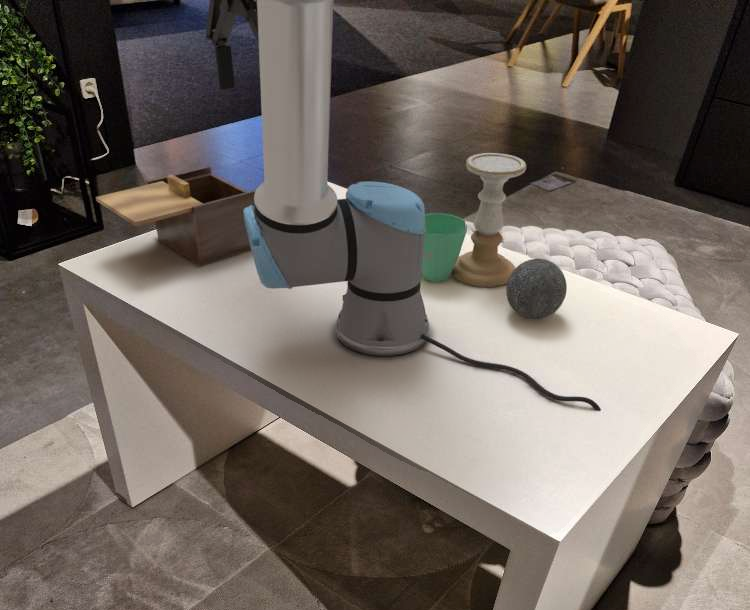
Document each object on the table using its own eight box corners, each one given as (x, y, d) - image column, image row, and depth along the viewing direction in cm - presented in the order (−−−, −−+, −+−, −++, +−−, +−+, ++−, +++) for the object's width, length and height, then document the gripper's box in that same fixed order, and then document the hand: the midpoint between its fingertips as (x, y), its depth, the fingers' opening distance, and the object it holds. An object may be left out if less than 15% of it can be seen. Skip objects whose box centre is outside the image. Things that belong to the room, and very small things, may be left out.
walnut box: (263, 248, 147) (258, 190, 139) (202, 267, 140) (193, 207, 132) (215, 221, 156) (208, 165, 149) (156, 237, 149) (145, 180, 142)
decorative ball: (561, 333, 124) (573, 277, 117) (501, 327, 125) (509, 271, 118) (559, 305, 131) (571, 251, 125) (503, 300, 132) (511, 246, 126)
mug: (472, 278, 139) (478, 225, 132) (435, 293, 134) (440, 239, 127) (418, 252, 147) (421, 201, 140) (381, 266, 142) (383, 214, 135)
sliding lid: (204, 208, 135) (202, 190, 133) (135, 226, 128) (132, 208, 126) (163, 185, 143) (160, 168, 141) (96, 201, 137) (92, 183, 134)
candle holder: (527, 281, 138) (545, 169, 125) (468, 291, 135) (481, 177, 121) (495, 255, 146) (509, 147, 133) (439, 264, 143) (448, 154, 129)
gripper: (304, -50, 111) (310, 106, 125) (212, -63, 124) (227, 79, 138) (263, -48, 107) (274, 113, 121) (173, -61, 120) (192, 85, 134)
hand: (249, 95), depth 129 cm, fingers open, 13 cm apart
